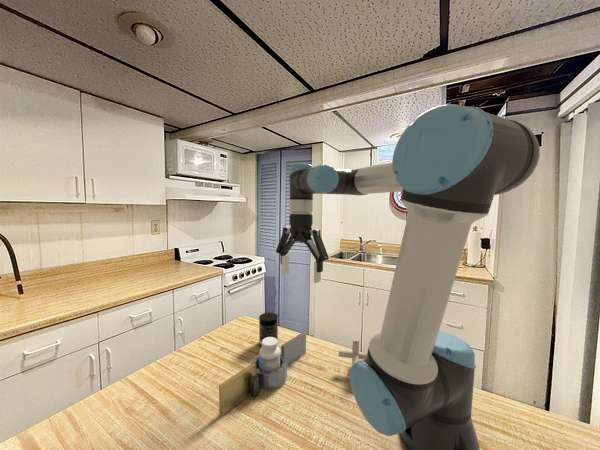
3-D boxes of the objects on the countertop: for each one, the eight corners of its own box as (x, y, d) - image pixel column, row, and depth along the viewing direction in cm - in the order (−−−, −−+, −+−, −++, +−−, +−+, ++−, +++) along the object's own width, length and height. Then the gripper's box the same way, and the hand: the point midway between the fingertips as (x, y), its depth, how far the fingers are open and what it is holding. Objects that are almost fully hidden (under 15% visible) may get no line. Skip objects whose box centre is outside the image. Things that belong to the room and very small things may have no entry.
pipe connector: (373, 385, 70) (374, 351, 69) (337, 379, 72) (338, 346, 71) (370, 363, 80) (371, 333, 79) (339, 359, 82) (340, 329, 81)
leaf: (256, 388, 68) (256, 364, 67) (222, 415, 59) (222, 387, 59) (253, 386, 69) (253, 362, 68) (219, 413, 60) (218, 385, 59)
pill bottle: (259, 371, 75) (259, 335, 75) (279, 370, 76) (279, 335, 75) (258, 385, 69) (258, 347, 69) (280, 384, 70) (280, 346, 69)
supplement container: (281, 343, 91) (281, 316, 90) (267, 352, 86) (267, 322, 85) (269, 337, 95) (269, 311, 94) (255, 344, 90) (255, 316, 89)
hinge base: (316, 357, 82) (316, 337, 82) (259, 403, 63) (259, 377, 63) (293, 346, 89) (293, 327, 88) (234, 384, 70) (234, 360, 69)
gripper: (340, 214, 75) (339, 282, 77) (281, 212, 91) (280, 269, 92) (327, 214, 69) (325, 288, 71) (265, 212, 85) (265, 273, 87)
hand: (300, 277), depth 82 cm, fingers open, 13 cm apart
